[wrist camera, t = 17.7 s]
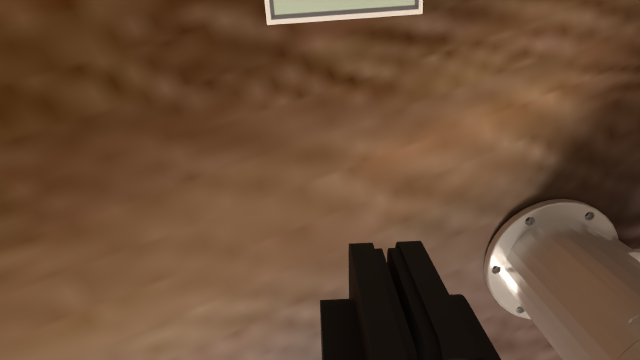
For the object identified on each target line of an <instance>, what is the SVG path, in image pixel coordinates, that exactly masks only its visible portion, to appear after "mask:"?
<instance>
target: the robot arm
mask: <svg viewBox="0 0 640 360" xmlns="http://www.w3.org/2000/svg"><path fill="white" fill-rule="evenodd" d="M484 274H485V280H486V283H487V286H488V289H489V290H490V292H491V294H492V295H493V297H494V298H495V299H496V301H497V302H498V303H499V304H500V306H502V307H503V308H504V309H506V310H507V311H508V312H510V313H512V314H514V315H516V316H519V317H523V318H527V319H532V321H533V322H534V323H535V325H536V326H537V327H538V328H539V330H540V331H541V332H542V334H543V335H544V336H545V337H546V339H547V340H548V341H549V343H550V344H551V345H552V346H553V348H554V349H555V350H556V352H557V353H558V354H559V355H560V357H561V358H562V359H563V360H640V248H637V249H631V248H629V247H628V246H627V245H625V244H624V243H622V242H621V241H619V239H618V234H617V232H616V230H615V228H614V226H613V224H612V223H611V222H610V220H609V219H608V218H607V217H606V216H605V215H604V214H602V213H601V212H600V211H598V210H597V209H595V208H594V207H592V206H590V205H588V204H586V203H583V202H580V201H577V200H570V199H555V200H548V201H544V202H540V203H536V204H534V205H532V206H530V207H527V208H525V209H523V210H522V211H520V212H519V213H517V214H516V215H514V216H513V217H512V218H510V219H509V220H508V221H507V222H506V223H505V224H504V225H503V226H502V227H501V228H500V230H499V231H498V232H497V233H496V234H495V236H494V238H493V240H492V241H491V243H490V245H489V247H488V250H487V253H486V256H485V263H484ZM320 315H321V344H322V360H501V359H500V357H499V355H498V353H497V352H496V350H495V348H494V346H493V345H492V343H491V341H490V340H489V338H488V336H487V334H486V333H485V331H484V329H483V327H482V326H481V324H480V322H479V321H478V319H477V317H476V315H475V314H474V312H473V310H472V308H471V307H470V305H469V303H468V302H467V300H466V298H465V297H464V296H463V295H461V294H456V295H449V293H448V291H447V290H446V288H445V286H444V284H443V282H442V280H441V278H440V276H439V274H438V272H437V271H436V269H435V267H434V265H433V263H432V261H431V259H430V257H429V255H428V253H427V252H426V250H425V248H424V246H423V244H422V242H421V241H406V242H397V243H396V246H395V248H388V252H387V262H386V259H385V256H384V253H383V250H382V249H374V246H373V243H356V244H349V299H337V300H320Z"/></svg>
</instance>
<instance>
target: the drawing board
mask: <svg viewBox="0 0 640 360" xmlns="http://www.w3.org/2000/svg"><path fill="white" fill-rule="evenodd" d="M265 9H266V19H267V25H274V24H287V23H301V22H315V21H329V20H343V19H357V18H371V17H385V16H398V15H412V14H423V0H265Z"/></svg>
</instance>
